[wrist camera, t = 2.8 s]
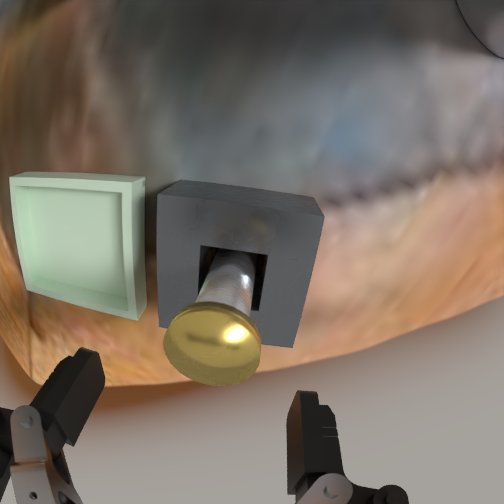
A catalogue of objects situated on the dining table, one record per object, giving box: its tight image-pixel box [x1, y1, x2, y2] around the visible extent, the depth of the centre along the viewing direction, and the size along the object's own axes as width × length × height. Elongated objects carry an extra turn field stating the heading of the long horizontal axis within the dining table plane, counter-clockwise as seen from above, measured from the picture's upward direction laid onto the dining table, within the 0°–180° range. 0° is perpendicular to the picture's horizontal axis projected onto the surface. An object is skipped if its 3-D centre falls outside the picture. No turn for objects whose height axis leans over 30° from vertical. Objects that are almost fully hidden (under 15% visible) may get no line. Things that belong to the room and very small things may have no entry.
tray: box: [9, 172, 147, 321], centre depth 23 cm, size 14×12×2 cm
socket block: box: [157, 180, 324, 348], centre depth 21 cm, size 10×10×5 cm
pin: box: [164, 248, 261, 386], centre depth 18 cm, size 4×4×12 cm
